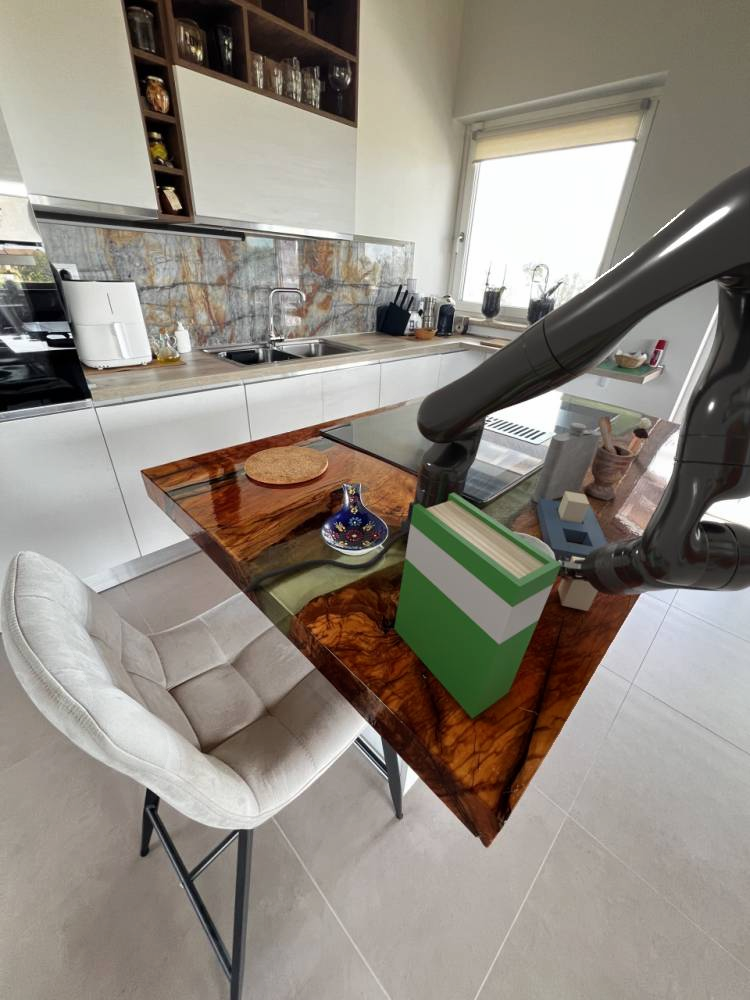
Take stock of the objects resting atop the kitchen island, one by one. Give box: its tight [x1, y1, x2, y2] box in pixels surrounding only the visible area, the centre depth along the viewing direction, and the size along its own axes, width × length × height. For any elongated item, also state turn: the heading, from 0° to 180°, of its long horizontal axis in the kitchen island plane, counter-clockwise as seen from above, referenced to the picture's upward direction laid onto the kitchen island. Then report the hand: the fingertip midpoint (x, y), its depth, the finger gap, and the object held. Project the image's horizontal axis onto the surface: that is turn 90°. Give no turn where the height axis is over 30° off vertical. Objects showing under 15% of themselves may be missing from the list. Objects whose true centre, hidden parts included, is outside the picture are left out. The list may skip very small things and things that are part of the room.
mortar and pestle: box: [584, 415, 635, 501], centre depth 110 cm, size 12×9×20 cm
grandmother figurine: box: [627, 417, 652, 457], centre depth 137 cm, size 8×4×13 cm, turn 17°
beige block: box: [557, 556, 599, 612], centre depth 74 cm, size 4×4×8 cm
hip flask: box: [532, 422, 602, 504], centre depth 106 cm, size 16×4×20 cm, turn 118°
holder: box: [536, 498, 609, 562], centre depth 94 cm, size 12×21×3 cm, turn 168°
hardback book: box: [393, 493, 562, 719], centre depth 57 cm, size 18×7×24 cm, turn 34°
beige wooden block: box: [558, 491, 590, 523], centre depth 96 cm, size 4×4×8 cm
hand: (577, 576), depth 75 cm, fingers closed on beige block, 4 cm apart
